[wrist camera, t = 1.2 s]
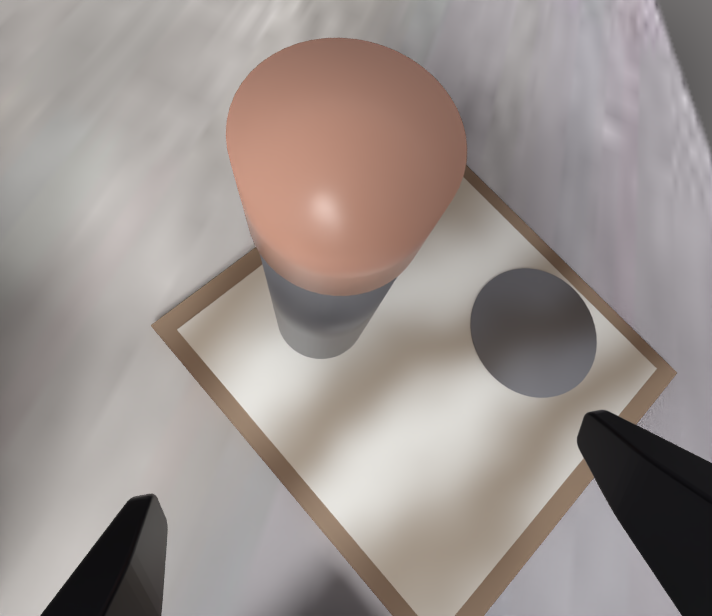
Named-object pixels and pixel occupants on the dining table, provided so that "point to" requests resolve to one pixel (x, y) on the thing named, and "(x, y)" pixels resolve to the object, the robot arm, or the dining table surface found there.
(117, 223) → the dining table surface
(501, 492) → the board
